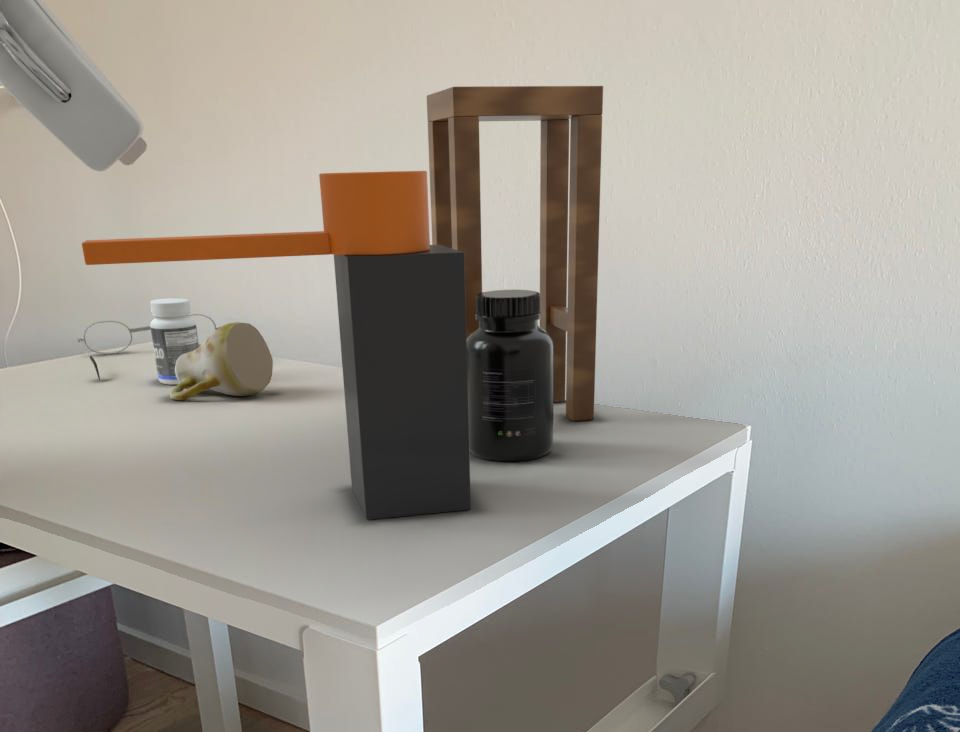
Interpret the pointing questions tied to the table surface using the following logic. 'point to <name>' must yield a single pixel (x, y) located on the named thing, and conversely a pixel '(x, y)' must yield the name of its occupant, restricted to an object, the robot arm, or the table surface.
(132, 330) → the eyeglasses
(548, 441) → the supplement bottle
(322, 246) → the measuring cup
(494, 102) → the tall stand
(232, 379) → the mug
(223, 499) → the table surface
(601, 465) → the table surface
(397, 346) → the charcoal tower block
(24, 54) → the robot arm
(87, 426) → the table surface
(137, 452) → the table surface
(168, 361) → the pill bottle
